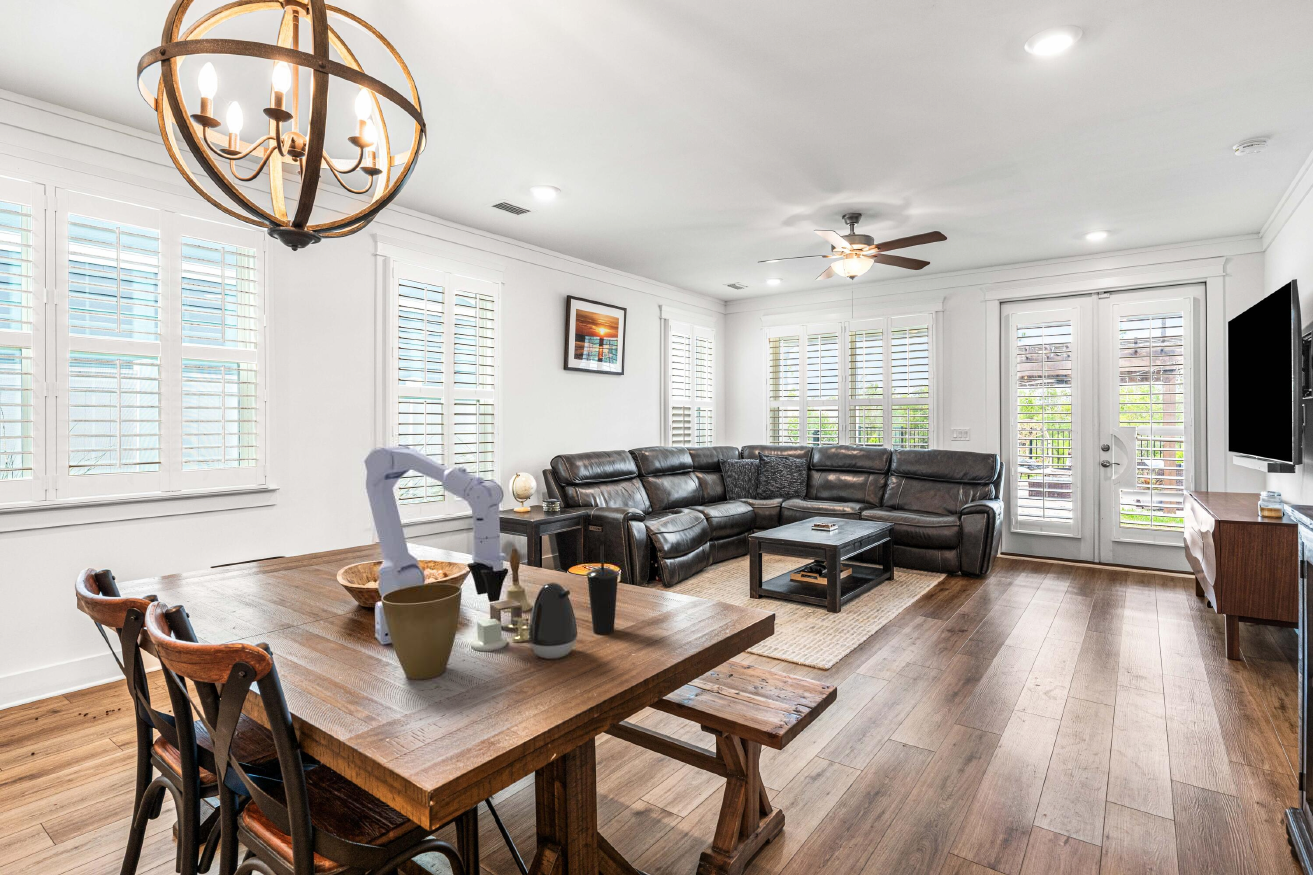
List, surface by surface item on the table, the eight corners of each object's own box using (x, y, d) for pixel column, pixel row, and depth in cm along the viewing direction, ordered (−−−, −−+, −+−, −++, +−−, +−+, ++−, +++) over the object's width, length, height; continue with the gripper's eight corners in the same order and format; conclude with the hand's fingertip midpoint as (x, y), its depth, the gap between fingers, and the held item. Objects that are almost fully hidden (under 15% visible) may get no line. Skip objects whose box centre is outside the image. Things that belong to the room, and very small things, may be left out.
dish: (478, 653, 139) (477, 648, 139) (466, 643, 145) (466, 639, 145) (512, 646, 143) (511, 641, 143) (499, 637, 149) (499, 632, 149)
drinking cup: (615, 637, 148) (613, 549, 147) (582, 635, 149) (581, 548, 149) (623, 626, 155) (622, 543, 155) (592, 625, 157) (591, 542, 156)
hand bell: (514, 614, 167) (513, 552, 167) (493, 609, 172) (492, 549, 172) (539, 606, 174) (537, 547, 173) (518, 602, 179) (517, 544, 178)
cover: (499, 629, 155) (498, 608, 155) (490, 623, 160) (489, 603, 159) (522, 625, 158) (521, 604, 158) (512, 619, 163) (512, 599, 163)
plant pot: (437, 654, 139) (435, 579, 139) (478, 670, 130) (477, 590, 129) (368, 675, 128) (366, 594, 127) (409, 695, 118) (407, 607, 118)
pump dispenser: (551, 667, 130) (549, 591, 130) (518, 655, 137) (517, 584, 137) (588, 653, 138) (587, 581, 138) (556, 642, 145) (554, 574, 144)
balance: (522, 648, 142) (522, 621, 142) (504, 635, 151) (503, 610, 151) (538, 644, 144) (537, 618, 144) (519, 632, 153) (518, 607, 153)
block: (484, 644, 142) (483, 626, 141) (477, 639, 145) (477, 621, 145) (501, 640, 144) (501, 622, 144) (495, 636, 147) (494, 618, 147)
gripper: (516, 539, 141) (517, 601, 142) (492, 530, 153) (493, 587, 154) (484, 542, 137) (485, 606, 138) (462, 533, 149) (464, 592, 150)
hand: (488, 597), depth 145 cm, fingers open, 7 cm apart
